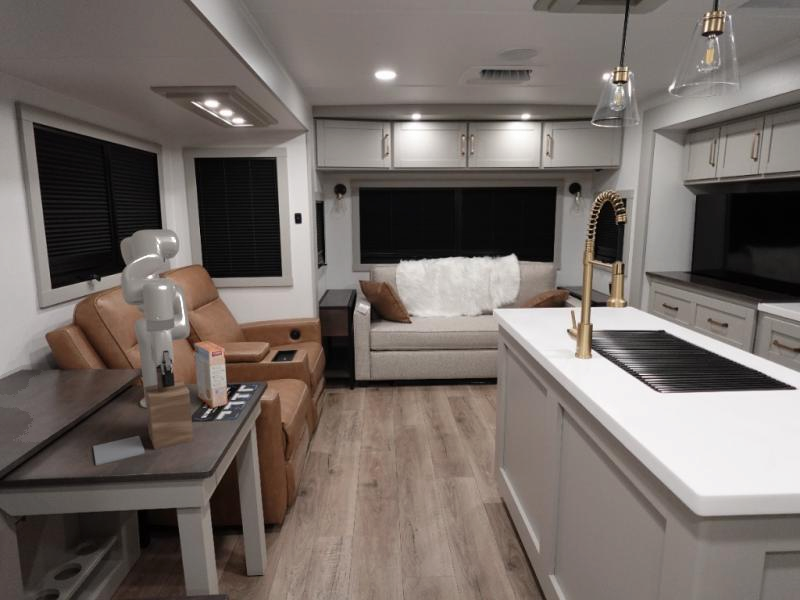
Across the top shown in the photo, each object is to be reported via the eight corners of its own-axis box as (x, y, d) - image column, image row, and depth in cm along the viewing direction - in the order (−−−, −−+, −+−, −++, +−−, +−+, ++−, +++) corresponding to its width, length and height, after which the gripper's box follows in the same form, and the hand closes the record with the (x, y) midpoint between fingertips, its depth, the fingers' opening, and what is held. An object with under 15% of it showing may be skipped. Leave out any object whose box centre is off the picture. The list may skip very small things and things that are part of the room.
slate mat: (93, 448, 145) (93, 446, 145) (139, 437, 152) (139, 435, 152) (96, 465, 136) (95, 463, 135) (144, 453, 142) (144, 451, 142)
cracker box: (229, 404, 177) (225, 347, 173) (212, 409, 173) (207, 351, 169) (214, 393, 187) (209, 339, 183) (197, 397, 183) (193, 342, 179)
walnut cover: (149, 435, 153) (142, 368, 149) (186, 427, 159) (180, 361, 155) (154, 449, 144) (147, 378, 140) (193, 440, 150) (187, 371, 146)
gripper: (141, 320, 150) (147, 376, 153) (150, 332, 136) (156, 394, 139) (168, 317, 154) (173, 372, 157) (180, 328, 140) (185, 388, 143)
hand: (165, 382), depth 148 cm, fingers open, 7 cm apart
